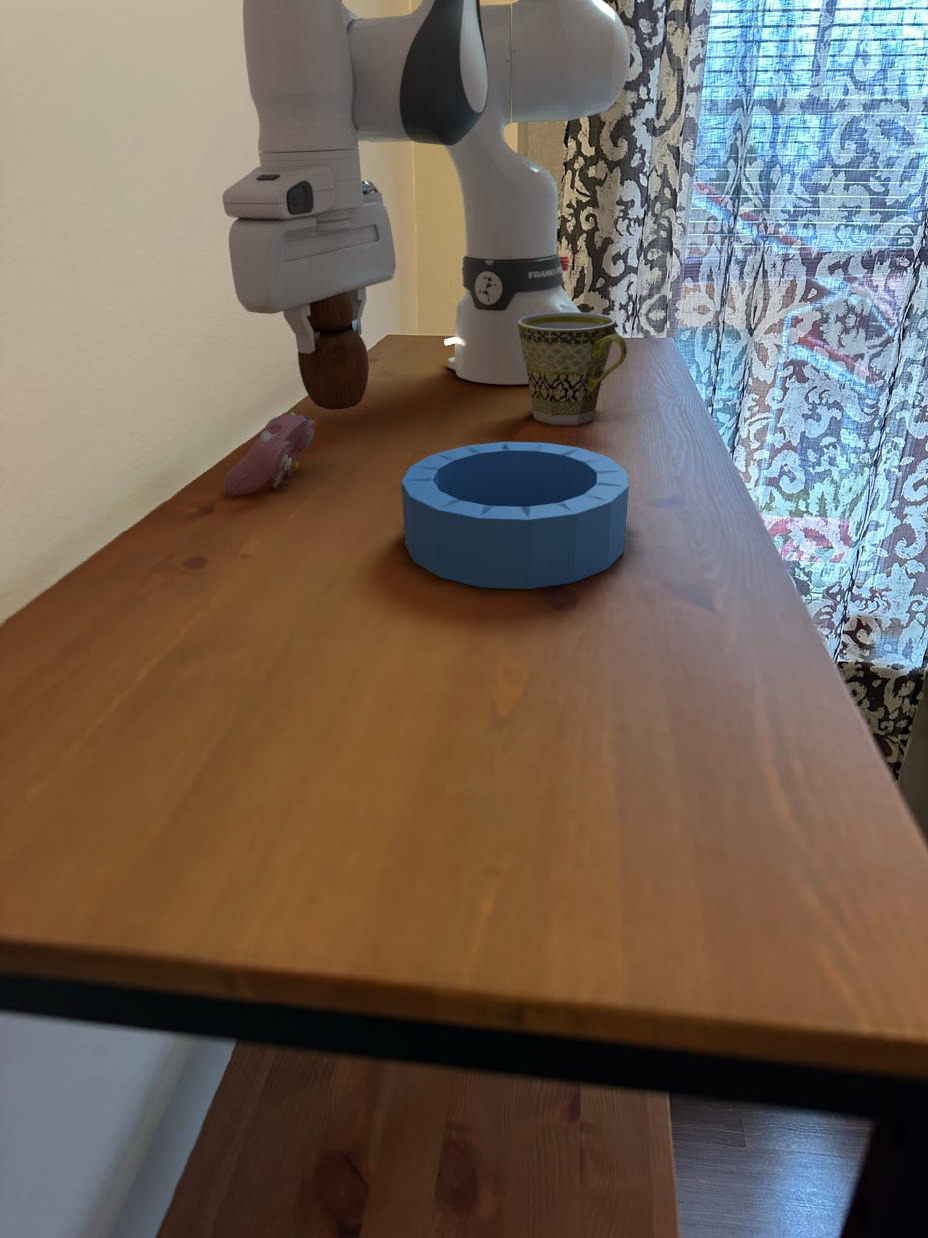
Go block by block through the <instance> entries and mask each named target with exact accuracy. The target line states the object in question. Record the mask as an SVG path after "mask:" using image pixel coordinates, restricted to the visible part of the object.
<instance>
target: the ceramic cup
mask: <svg viewBox="0 0 928 1238" xmlns="http://www.w3.org/2000/svg"><path fill="white" fill-rule="evenodd" d="M616 323H617V320H616V319H615V318H614V317H612V316H609V315H605V314H601V313H594V312H582V311H580V312H557V313H543V314H536V315H531V316H527V317H524V318H521V319H520V320H519V321H518V327H519V335H520V341H521V347H522V353H523V357H524V361H525V365H526V369H527V375H528V381H529V384H528V389H529V395H530V400H531V401H530V402H531V408H532V415H533V418H534V420H535V421H538V422H542V423H544V424H547V425H548V424H549V425H552V426H553V425H555V426H556V425H557V426H558V425H559V426H561V425H563V426H566V425H567V426H568V425H570V426H574V425H580V424H584V423H588V422H590V421H591V422H592V421H593V419H594V418H595V413H596V408H597V404H598V399H599V398H598V397H599V394H600V390H601V385H602V382H603V381H604V380H605V379H606V378H607V377H608V375H609V374H611V372H612V371H614V370H615V369H617V368H619V366H621V365H622V364H623V362H624V361H625V359H626V357H627V354H628V353H627V352H628V349H627V344H626V341H625V339H624V338H623V337H622V336H621V335H619V334H615V330H616V327H615V325H616ZM613 342H615V343H617V344H618V346H619V348H620V357H619V358H618V360H617V361H616V362H615V363H614V364H612V365H610V366H609V367H608V368H607V369H606V370H605V368H606V365H607V361H608V358H609V355H610V351H611V348H612V344H613Z"/></svg>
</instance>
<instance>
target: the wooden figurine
mask: <svg viewBox="0 0 928 1238" xmlns="http://www.w3.org/2000/svg"><path fill="white" fill-rule="evenodd" d="M309 305H310V313H311V314H310V316H307V319H308V321H309V323H310V325H311V327H312V329H313V331H316V332H319V333H320V343H321V349H320V350H318V351H315V352H313V353H310V354H307V353H300V352H299V351H298V350H297V361H298V368H299V374H300V377H301V380H302V384H303V386H304V389H305V391H306V394H307V395H308V397H309V398H310V400H311V401H312V403H313V404H315V405H316V406H317V407H319V408H322V409H326V410H332V411H333V410H334V411H336V410H337V411H339V410H346V409H347V410H348V409H350V408H353V407H356V406H358V404H359V403H361V402H362V400H363V398H364V397H363V396H364V394H365V392H366V388H367V384H368V381H369V371H370V367H369V355H368V350H367V346H366V344H365V341H364V339H363V338H362V337H361V335H360V336H359V335H358V334H357V333H356V332H355V331H352V330H349V329H347V328H348V327H349V326H350V325H351V323H352V320H353V307H352V302H351V300H350V298H349V296H348V295H347V294H346V293H345V292H344V293H340V294H337V295H335V296H332V297H330V298H326V299H323V300H319V301H316V302H312V303H309Z"/></svg>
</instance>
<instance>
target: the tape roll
mask: <svg viewBox="0 0 928 1238" xmlns="http://www.w3.org/2000/svg"><path fill="white" fill-rule="evenodd" d="M400 483H401V484H400V485H401V499H402V513H403V514H402V515H403V528H404V543H405V546H406V548H407V551H408V554H409V555H410V557H411V560H412V561H413V563H415V564H416V565H418V566H420V567H421V568H423V569H425V570H427V571H428V572H430V573H432V574H433V575H435V576H437V577H439V578H441V579H444V580H447V581H448V580H449V581H452V582H457V583H461V584H465V585H469V586H473V587H477V588H481V589H482V588H483V589H506V590H507V589H510V590H533V589H541V588H547V587H553V586H561V585H568V584H574V583H576V582H579V581H581V580H584V579H586V578H590V577H592V576H594V575H597V574H599V573H601V572H604V571H607V570H608V569H609V568H610V567H611V566H612V565H613V564H614V563H615V562H616V561H617V560H618V559H619V558H620V557H621V556H622V555H623V554H624V552H625V542H626V531H627V530H626V529H627V516H628V515H627V514H628V502H629V490H630V485H629V484H630V483H629V473H628V471H627V470H626V469H625V468H623V466H621V465H619V464H618V463H617V462H615V461H614V460H613V459H612V458H611V457H609V456H605V455H603V454H600V453H597V452H594V451H591V450H588V449H585V448H581V447H576V446H569V445H563V444H557V443H549V442H538V441H537V442H528V441H499V442H498V441H497V442H487V443H478V444H472V445H471V444H470V445H464V446H461V447H460V446H459V447H456V448H453V449H448V450H444V451H441V452H440V451H439V452H437V453H433V454H431V455H429V456H426V457H425V458H424V459H423V458H422V459H421V460H419V461H418V462H416V463H414V464H412V465H410V466H409V468H408V469H407V471H406V473H405V474H404V475H403V478H402V480H401V482H400Z"/></svg>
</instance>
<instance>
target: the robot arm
mask: <svg viewBox="0 0 928 1238" xmlns="http://www.w3.org/2000/svg"><path fill="white" fill-rule="evenodd" d="M242 29H243V32H242V33H243V45H244V55H245V65H246V72H247V80H248V88H249V94H250V97H251V99H252V103H253V105H254V107H255V110H256V114H257V119H258V130H259V131H258V139H257V151H258V158H259V166H257V167H255V168H253V170H252V171H250V172H249V173H248V174H247V175H245V176H244V177H243V178H241V179H240V180H238V181H237V182H235V183H234V184H232V185H230V186H229V187H228V188H227V189H225V190H224V192H223V193H222V205H223V210H224V212H225V215H226V216H227V217H229V218H232V219H235V220H234V221H233V222H232V224H231V226H230V228H229V233H228V250H229V258H230V265H231V272H232V280H233V285H234V290H235V294H236V297H237V300H238V302H239V303H240V304H241V306H242V307H243V309H244V310H245V311H247V312H249V313H255V314H264V315H265V314H266V315H274V314H277V313H281V312H283V314H282V315H283V318H284V319H285V321H286V323H287V324H288V326H289V328H290V329H291V331H292V332H293V333H294V334H295V341H296V348H297V352H298V351H299V352H300V353H307V354H310V353H313V352H315V351H318V350H320V349H321V343H320V333H319V332H316V331H313V329H312V327H311V325H310V323H309V321H308V319H307V316H310V314H311V313H310V305H309V303H312V302H316V301H319V300H323V299H326V298H330V297H332V296H335V295H337V294H340V293H344V292H345V293H346V294H347V295H348V296H349V298H350V300H351V302H352V307H353V320H352V323H351V325H350V326H349V327H348V328H347V329H349V330H352V331H355V332H356V333H357V334H358V335H359V336H360V337H361V335H362V333H363V329H362V321H361V319H362V316H363V312H364V309H365V306H366V302H367V289H366V288H368V287H371V286H374V285H377V284H382V283H384V282H388V281H391V280H392V279H393V277H394V276H395V272H396V268H397V262H396V261H397V260H396V253H395V243H394V238H393V232H392V231H393V230H392V227H391V222H390V221H391V220H390V217H389V214H388V211H387V208H386V207H385V205H384V199H383V195H382V193H381V192H380V191H379V189H378V188H377V187H376V185H375V184H374V183H373V181H371V180H362V172H361V171H362V170H361V158H360V149H359V147H360V146H359V145H360V144H359V142H369V143H390V142H391V143H392V142H393V143H394V142H414V143H417V144H427V145H428V144H429V145H437V146H438V145H439V146H443V147H444V149H445V150H446V152H447V154H448V155H449V157H450V160H451V161H452V163H453V166H454V168H455V171H456V174H457V178H458V181H459V186H460V191H461V196H462V206H463V217H464V219H463V220H464V233H465V255H464V256H463V257H462V267H461V275H462V286H463V287H464V289H465V292H464V295H463V297H462V298H461V299H460V300H459V301H458V302H457V305H456V314H455V316H456V317H455V318H456V319H455V333H454V334H455V335H454V337H450V338H446V339H444V346H448V345H452V344H454V354H453V355H454V356H453V357H449V358H447V367H448V369H451V370H453V371H454V372H455V375H456V376H457V377H459V378H461V379H462V380H467V381H470V382H475V383H482V384H492V385H529V381H528V375H527V369H526V365H525V361H524V357H523V353H522V347H521V341H520V335H519V327H518V321H519V320H520V319H521V318H524V317H527V316H531V315H536V314H543V313H557V312H581V311H580V309H579V308H578V307H577V306H576V304H575V303H574V302H573V301H572V299H571V298H570V297H569V295H568V294H567V293H566V291H565V289H563V286H562V284H563V283H564V278H563V272H568V271H569V270H570V268H569V267H570V266H571V265H570V264H571V258H570V255H569V254H568V253H567V254H566V253H565V254H564V253H563V254H558V253H557V246H558V245H557V244H558V242H557V241H558V207H559V191H558V190H559V189H558V186H557V184H556V181H555V179H554V177H553V176H552V175H551V173H550V172H549V171H548V170H547V169H546V168H544V167H543V166H541V165H540V164H538V163H537V162H535V161H533V160H532V159H530V158H528V157H526V156H525V155H522V154H520V153H518V152H516V151H515V150H513V149H512V148H511V146H509V144H508V143H507V141H506V139H505V135H504V129H505V127H506V126H508V125H511V124H513V123H516V124H517V123H544V122H545V123H546V122H547V123H549V122H569V121H573V120H578V119H582V118H583V119H584V118H587V117H590V116H595V115H597V114H600V113H605V112H607V111H608V110H609V109H610V108H611V107H612V106H613V105H614V104H615V102H616V101H617V100H618V98H619V97H620V95H621V93H622V91H623V90H624V87H625V85H626V81H627V79H628V75H629V72H630V71H629V69H630V64H631V63H630V62H631V48H630V41H629V37H628V33H627V30H626V27H625V25H624V22H623V21H622V20H621V18H620V16H619V15H618V13H616V11H615V10H614V8H612V7H611V6H610V5H609V4H608V3H606V2H605V1H604V0H516V1H515V2H511V3H507V4H505V3H504V4H482V5H481V0H421V2H420V4H419V5H418V7H416V9H414V10H413V11H412V12H411V13H409V14H405V15H394V16H381V17H372V18H363V17H358V15H357V14H355V13H353V12H352V11H351V10H350V9H349V8H347V6H346V5H345V4H344V2H343V0H242ZM615 328H619V325H618V323H617V322H616V325H615Z"/></svg>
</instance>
